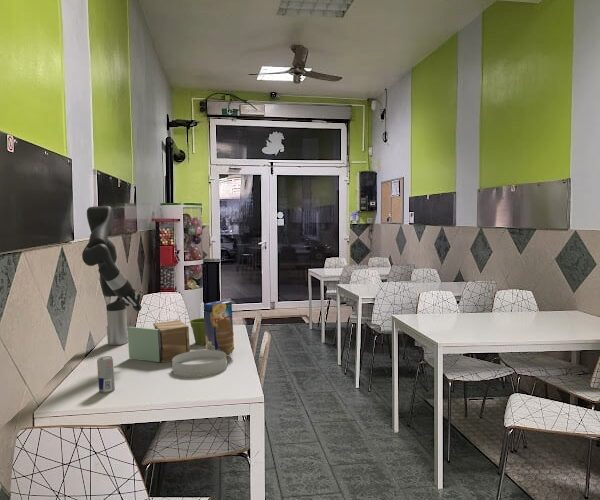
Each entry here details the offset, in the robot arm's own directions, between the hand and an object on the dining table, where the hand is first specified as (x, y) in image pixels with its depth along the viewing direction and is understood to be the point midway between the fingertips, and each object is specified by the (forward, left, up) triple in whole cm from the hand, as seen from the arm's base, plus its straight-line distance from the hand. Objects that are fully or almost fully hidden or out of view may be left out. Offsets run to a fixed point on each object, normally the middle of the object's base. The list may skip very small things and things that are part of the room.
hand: (139, 309), depth 227 cm
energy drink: (-7, -44, -22) cm, 49 cm away
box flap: (+2, -6, -21) cm, 22 cm away
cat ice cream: (+37, -11, -22) cm, 44 cm away
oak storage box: (+13, -1, -22) cm, 25 cm away
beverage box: (+35, +1, -22) cm, 41 cm away
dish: (+26, -26, -22) cm, 42 cm away
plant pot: (+27, +19, -22) cm, 39 cm away
